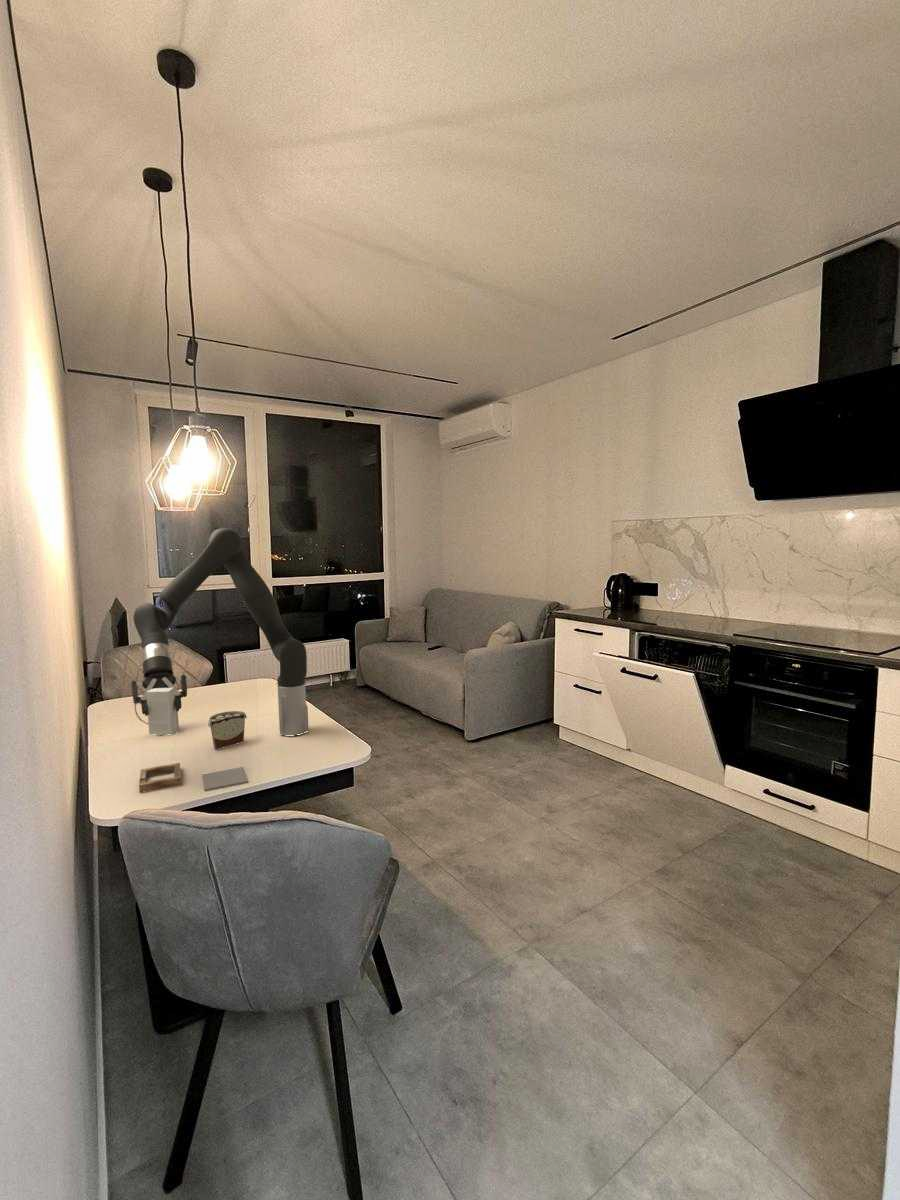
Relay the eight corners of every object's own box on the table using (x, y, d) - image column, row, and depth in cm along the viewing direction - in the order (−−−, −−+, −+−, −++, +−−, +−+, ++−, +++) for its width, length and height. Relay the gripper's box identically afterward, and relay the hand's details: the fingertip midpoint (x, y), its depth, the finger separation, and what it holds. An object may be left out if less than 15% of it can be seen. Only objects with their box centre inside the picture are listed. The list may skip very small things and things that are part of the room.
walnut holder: (180, 769, 162) (179, 761, 162) (181, 784, 152) (180, 776, 151) (141, 776, 158) (140, 767, 157) (139, 792, 147) (138, 783, 147)
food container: (240, 736, 189) (238, 708, 188) (248, 741, 185) (246, 712, 184) (203, 746, 181) (201, 716, 180) (210, 751, 176) (208, 720, 175)
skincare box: (177, 728, 155) (175, 687, 154) (171, 733, 151) (169, 691, 150) (154, 729, 155) (152, 687, 154) (148, 734, 151) (145, 691, 149)
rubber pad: (243, 768, 162) (243, 766, 162) (248, 782, 152) (248, 780, 152) (202, 776, 157) (202, 774, 157) (204, 791, 147) (204, 789, 147)
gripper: (127, 657, 154) (131, 709, 145) (184, 652, 161) (191, 700, 152) (129, 672, 159) (132, 723, 150) (184, 666, 166) (190, 714, 157)
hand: (162, 711), depth 151 cm, fingers closed on skincare box, 7 cm apart
